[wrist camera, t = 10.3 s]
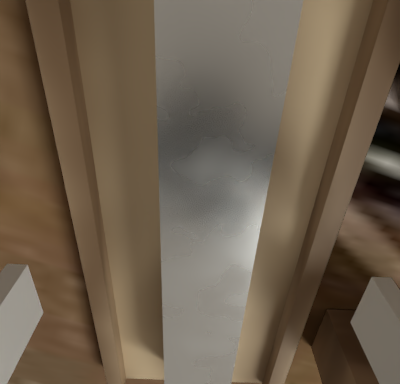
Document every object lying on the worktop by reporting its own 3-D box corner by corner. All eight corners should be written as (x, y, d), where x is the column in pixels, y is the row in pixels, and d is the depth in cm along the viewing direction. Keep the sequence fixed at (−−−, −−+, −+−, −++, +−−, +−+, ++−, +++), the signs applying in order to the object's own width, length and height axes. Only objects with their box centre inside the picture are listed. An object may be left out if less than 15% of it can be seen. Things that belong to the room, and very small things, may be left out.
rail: (170, 364, 22) (165, 422, 19) (168, -95, 9) (149, -141, 6) (220, 366, 22) (223, 424, 19) (287, -88, 9) (328, -131, 6)
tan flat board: (113, 372, 23) (108, 392, 22) (8, -200, 8) (-25, -234, 7) (274, 377, 23) (278, 398, 22) (453, -171, 8) (494, -200, 7)
